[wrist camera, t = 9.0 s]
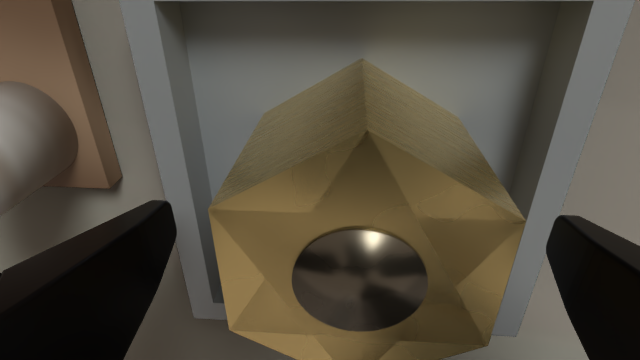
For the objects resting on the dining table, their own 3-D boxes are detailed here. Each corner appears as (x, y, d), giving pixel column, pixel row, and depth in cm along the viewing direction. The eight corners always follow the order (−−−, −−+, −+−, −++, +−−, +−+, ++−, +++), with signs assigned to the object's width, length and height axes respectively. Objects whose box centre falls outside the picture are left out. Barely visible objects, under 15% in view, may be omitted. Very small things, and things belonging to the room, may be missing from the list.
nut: (434, 250, 13) (474, 395, 9) (274, 243, 14) (236, 378, 9) (468, 58, 10) (554, 135, 6) (259, 57, 11) (191, 127, 6)
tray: (497, 292, 15) (516, 336, 13) (212, 278, 16) (194, 318, 14) (595, -45, 9) (650, -45, 8) (151, -40, 10) (109, -41, 8)
